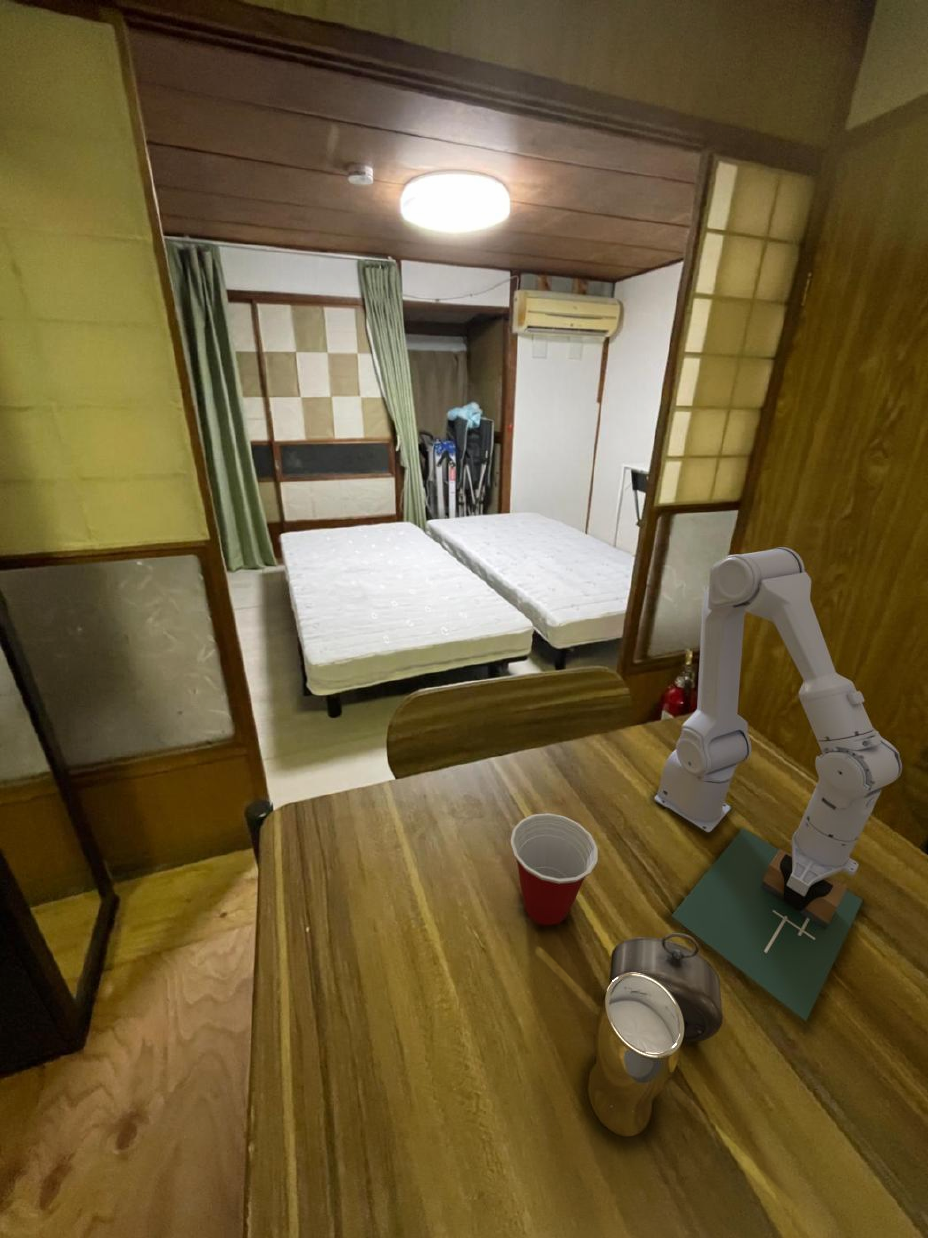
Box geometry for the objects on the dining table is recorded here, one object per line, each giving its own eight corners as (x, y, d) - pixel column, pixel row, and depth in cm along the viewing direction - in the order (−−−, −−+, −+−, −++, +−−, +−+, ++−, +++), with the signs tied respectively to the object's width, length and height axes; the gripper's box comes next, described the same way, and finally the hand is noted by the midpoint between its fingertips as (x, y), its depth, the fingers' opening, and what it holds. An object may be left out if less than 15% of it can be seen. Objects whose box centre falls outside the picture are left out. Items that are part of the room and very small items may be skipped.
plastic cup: (594, 888, 71) (606, 826, 66) (576, 960, 63) (587, 896, 57) (521, 859, 75) (526, 798, 70) (493, 923, 67) (497, 859, 61)
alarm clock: (704, 1019, 57) (741, 927, 50) (708, 1076, 52) (749, 984, 45) (603, 983, 60) (625, 892, 53) (599, 1034, 56) (621, 942, 48)
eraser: (760, 887, 71) (769, 864, 69) (771, 870, 74) (780, 848, 72) (825, 930, 66) (837, 907, 64) (835, 910, 68) (847, 888, 66)
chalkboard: (670, 919, 67) (671, 916, 67) (741, 830, 81) (742, 828, 80) (804, 1024, 57) (806, 1021, 56) (861, 903, 70) (863, 900, 70)
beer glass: (574, 1057, 54) (592, 972, 47) (639, 1051, 54) (665, 966, 48) (595, 1147, 48) (619, 1065, 41) (668, 1139, 48) (702, 1056, 41)
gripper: (851, 878, 56) (813, 953, 62) (886, 812, 65) (849, 883, 71) (783, 838, 61) (753, 911, 67) (823, 781, 70) (794, 850, 76)
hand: (798, 895), depth 69 cm, fingers closed on eraser, 4 cm apart
